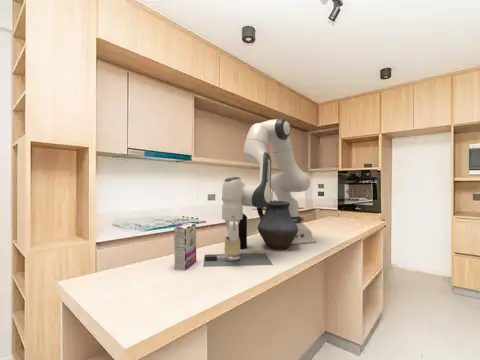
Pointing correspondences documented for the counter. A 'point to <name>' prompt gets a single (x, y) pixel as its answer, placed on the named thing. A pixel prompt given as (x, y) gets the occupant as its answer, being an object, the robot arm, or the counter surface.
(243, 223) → the aerosol can
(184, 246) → the candy bar box
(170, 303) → the counter surface
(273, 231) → the pitcher
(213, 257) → the ratchet
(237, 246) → the brass square frame
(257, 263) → the mat
